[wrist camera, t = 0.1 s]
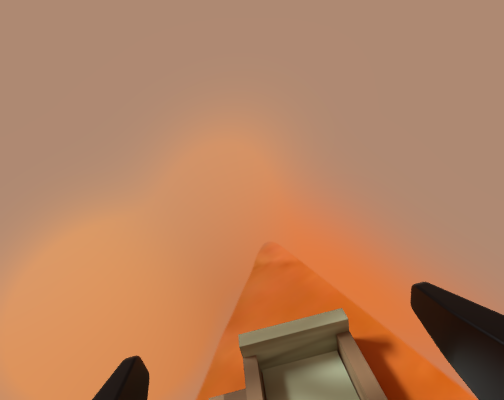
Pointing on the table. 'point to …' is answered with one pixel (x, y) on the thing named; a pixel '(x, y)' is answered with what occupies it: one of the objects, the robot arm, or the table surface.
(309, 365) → the trap lane
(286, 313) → the table surface
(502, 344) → the robot arm
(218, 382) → the table surface
